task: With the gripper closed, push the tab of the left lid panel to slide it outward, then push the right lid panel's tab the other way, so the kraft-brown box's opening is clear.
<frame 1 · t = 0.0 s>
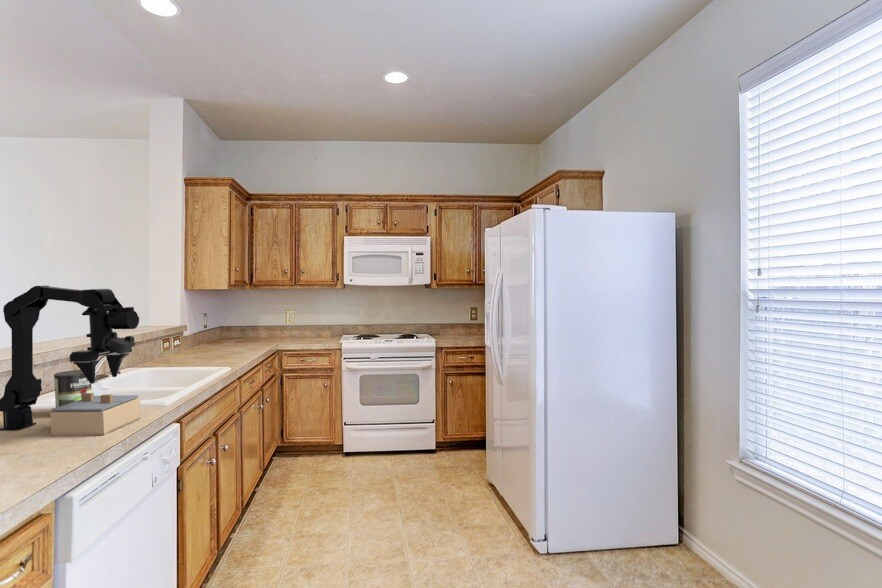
hand: (103, 380, 148), 15 cm above the worktop, fingers open, 9 cm apart
coffee can: (74, 413, 166), on the worktop
carton: (98, 427, 149), on the worktop
lid panel 1: (86, 402, 144), point 9 cm above the worktop, slide at 0.0 cm
lid panel 2: (106, 395, 153), point 9 cm above the worktop, slide at 0.0 cm
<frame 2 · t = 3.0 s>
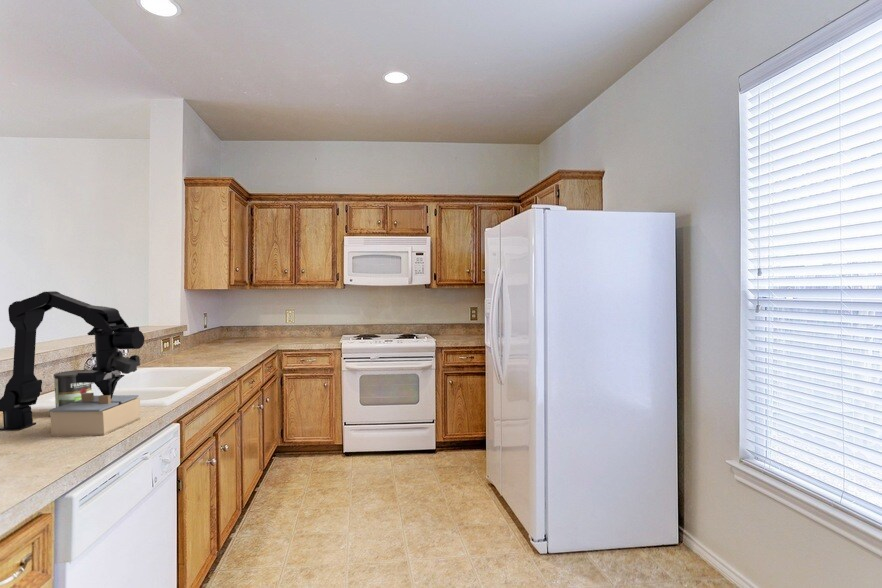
hand: (109, 399, 148), 9 cm above the worktop, fingers closed
lid panel 1: (84, 403, 144), point 9 cm above the worktop, slide at 0.8 cm, touching gripper
everything else where it was.
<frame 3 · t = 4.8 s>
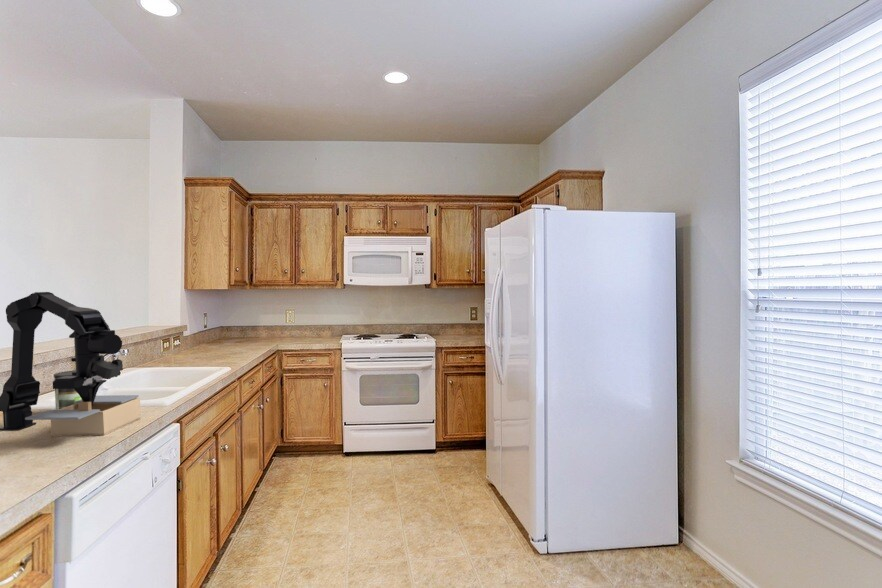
hand: (89, 406, 140), 9 cm above the worktop, fingers closed
lid panel 1: (63, 410, 136), point 9 cm above the worktop, slide at 8.5 cm, touching gripper
everything else where it was.
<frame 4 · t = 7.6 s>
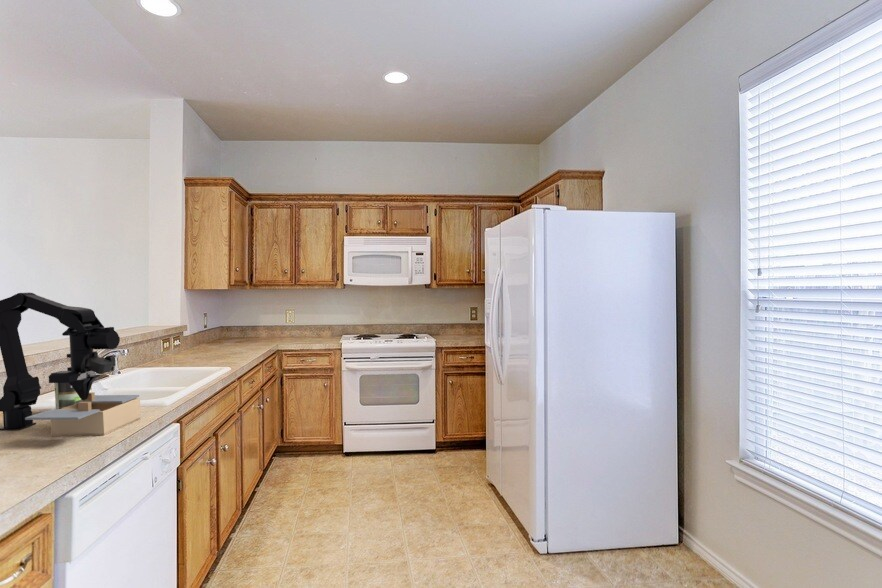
hand: (84, 399, 149), 9 cm above the worktop, fingers closed
lid panel 1: (63, 410, 136), point 9 cm above the worktop, slide at 8.6 cm
lid panel 2: (107, 395, 153), point 9 cm above the worktop, slide at 0.4 cm, touching gripper
everything else where it was.
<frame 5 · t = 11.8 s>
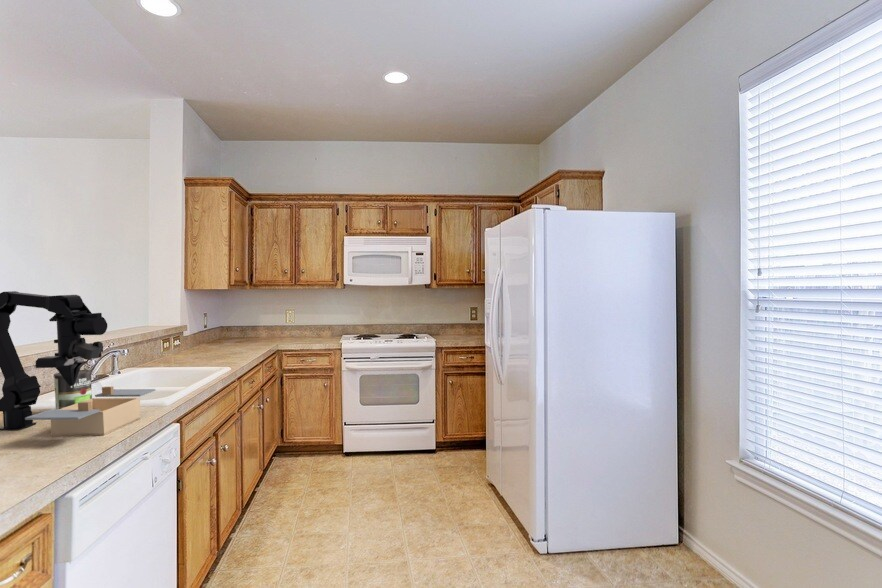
hand: (71, 385, 149), 13 cm above the worktop, fingers closed
lid panel 2: (125, 389, 161), point 9 cm above the worktop, slide at 8.6 cm
everything else where it was.
at the end: lid panel 1 slide at 8.6 cm; lid panel 2 slide at 8.6 cm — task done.
